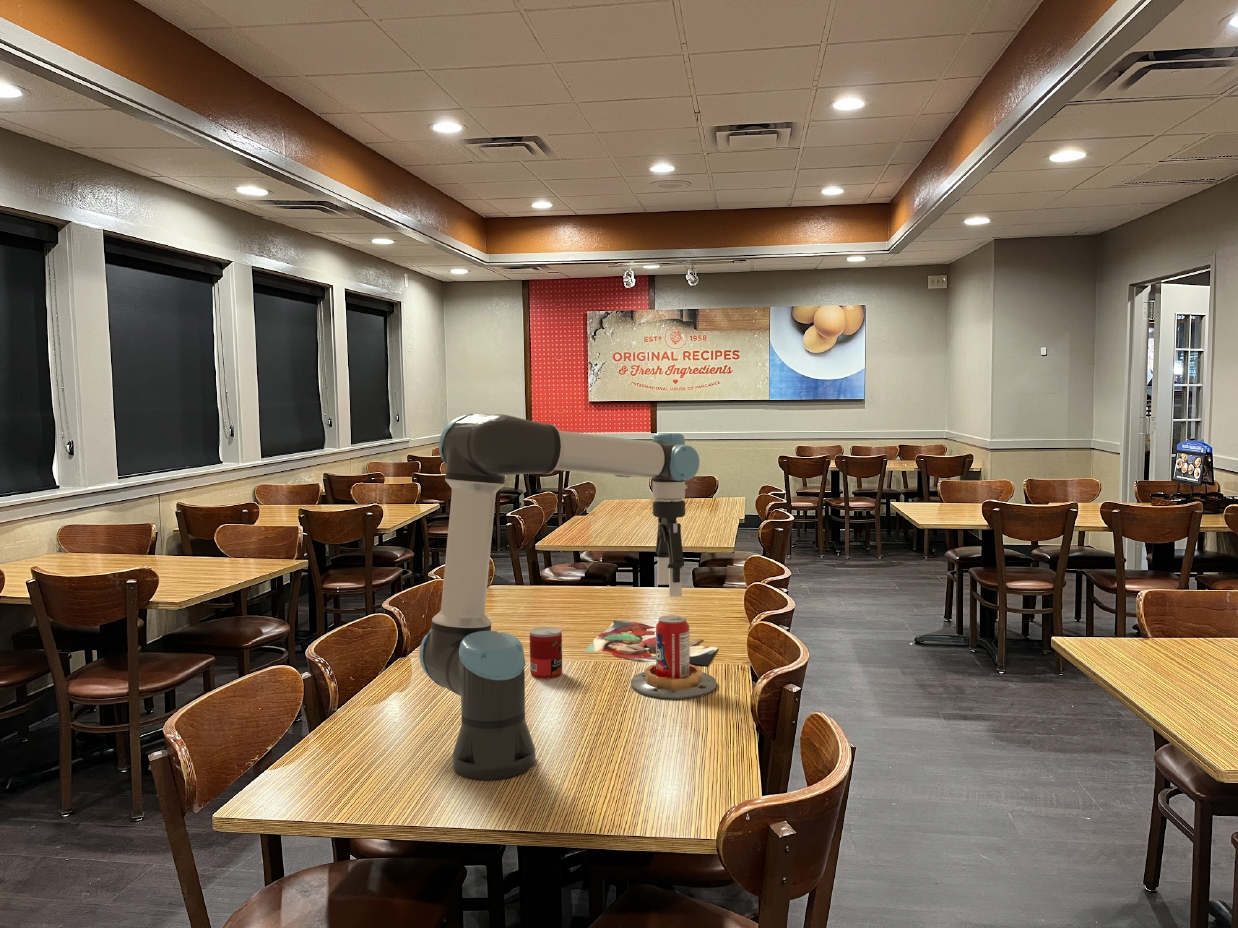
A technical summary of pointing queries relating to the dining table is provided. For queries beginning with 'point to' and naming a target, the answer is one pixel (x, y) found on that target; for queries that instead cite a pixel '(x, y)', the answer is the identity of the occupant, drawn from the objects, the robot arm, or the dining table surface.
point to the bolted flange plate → (673, 684)
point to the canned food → (546, 652)
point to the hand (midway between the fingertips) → (669, 590)
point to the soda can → (672, 647)
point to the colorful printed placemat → (641, 644)
